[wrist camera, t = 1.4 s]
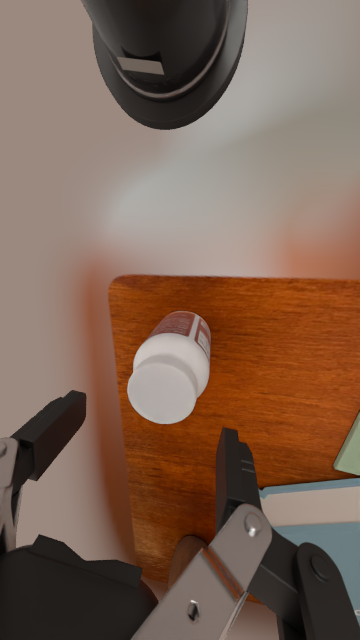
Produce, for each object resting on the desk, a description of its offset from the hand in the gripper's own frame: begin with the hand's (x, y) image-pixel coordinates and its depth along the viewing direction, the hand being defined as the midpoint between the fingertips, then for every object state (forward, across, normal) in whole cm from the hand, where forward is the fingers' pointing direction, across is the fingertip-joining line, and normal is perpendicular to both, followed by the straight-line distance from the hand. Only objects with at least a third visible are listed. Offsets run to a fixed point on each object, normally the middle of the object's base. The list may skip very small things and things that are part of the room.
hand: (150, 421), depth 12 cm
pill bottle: (+13, 0, 0) cm, 13 cm away
